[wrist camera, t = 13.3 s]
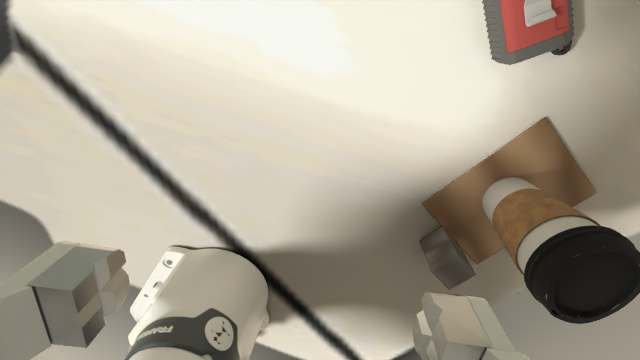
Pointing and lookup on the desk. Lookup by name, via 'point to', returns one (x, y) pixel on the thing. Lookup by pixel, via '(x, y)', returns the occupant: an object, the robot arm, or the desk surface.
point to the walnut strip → (467, 191)
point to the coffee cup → (563, 252)
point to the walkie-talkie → (528, 28)
